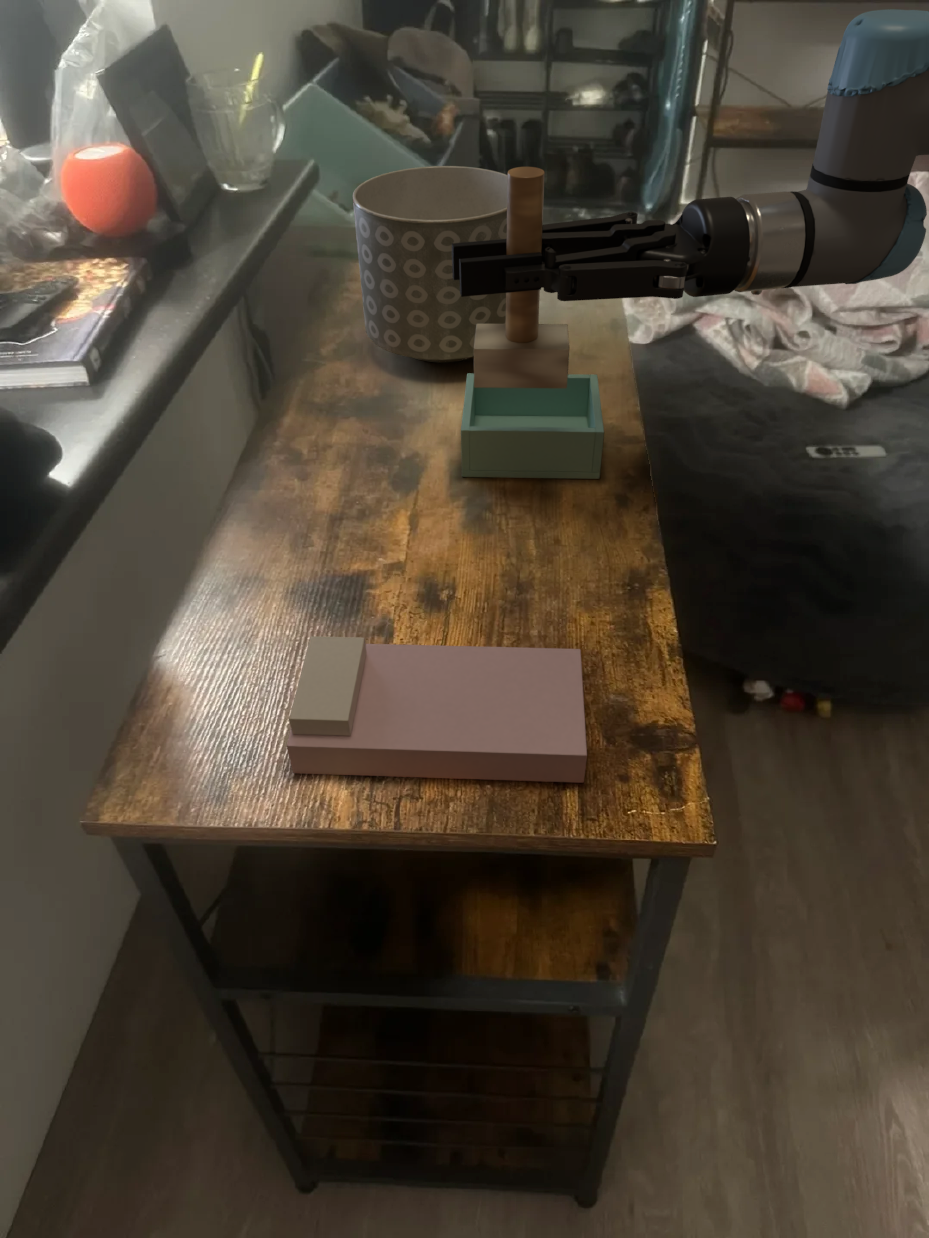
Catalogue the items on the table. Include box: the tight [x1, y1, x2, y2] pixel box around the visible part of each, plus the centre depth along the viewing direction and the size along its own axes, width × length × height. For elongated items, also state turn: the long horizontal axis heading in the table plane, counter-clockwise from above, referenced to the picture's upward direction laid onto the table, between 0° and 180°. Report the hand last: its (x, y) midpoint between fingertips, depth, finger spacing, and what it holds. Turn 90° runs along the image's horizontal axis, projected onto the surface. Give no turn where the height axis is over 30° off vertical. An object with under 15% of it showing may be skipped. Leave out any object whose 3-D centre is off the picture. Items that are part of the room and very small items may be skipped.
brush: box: [473, 166, 570, 388], centre depth 72 cm, size 8×5×17 cm, turn 87°
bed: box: [286, 635, 588, 784], centre depth 62 cm, size 20×10×5 cm, turn 87°
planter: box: [352, 165, 508, 364], centre depth 103 cm, size 19×19×18 cm
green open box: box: [460, 372, 605, 480], centre depth 90 cm, size 14×12×5 cm
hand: (457, 270), depth 71 cm, fingers closed on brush, 3 cm apart
